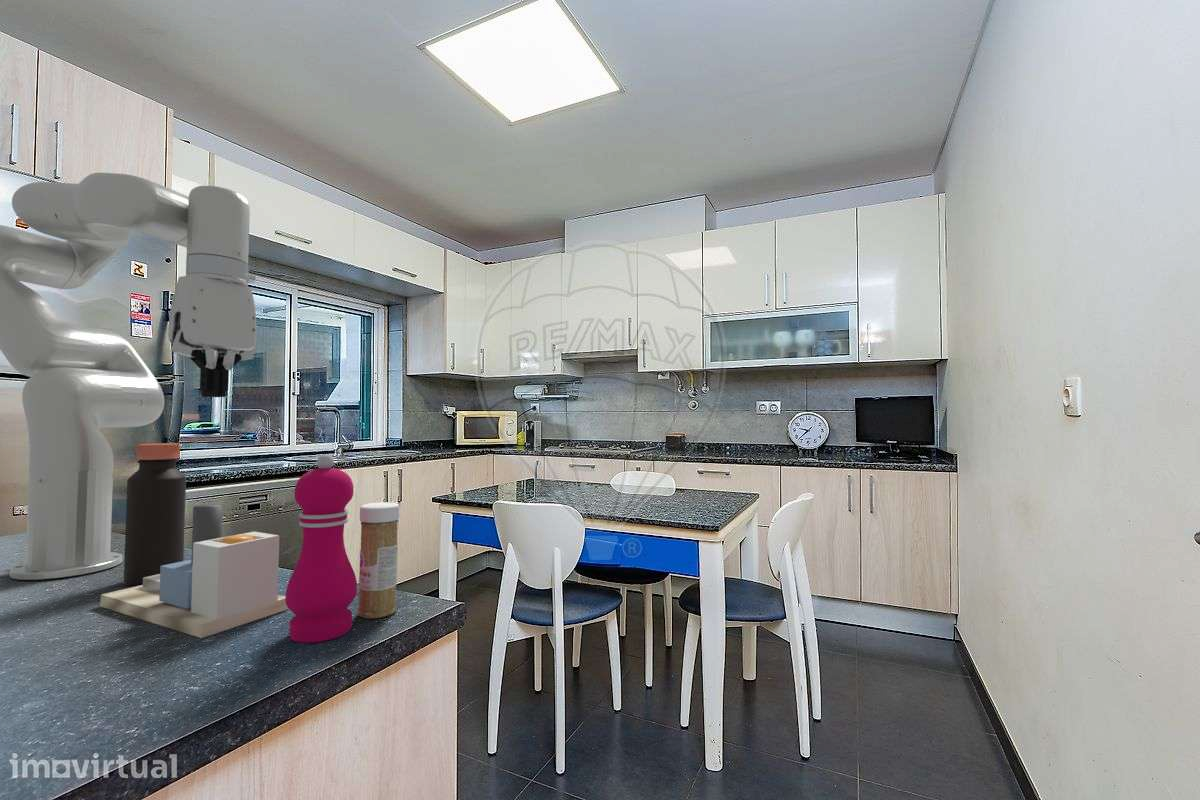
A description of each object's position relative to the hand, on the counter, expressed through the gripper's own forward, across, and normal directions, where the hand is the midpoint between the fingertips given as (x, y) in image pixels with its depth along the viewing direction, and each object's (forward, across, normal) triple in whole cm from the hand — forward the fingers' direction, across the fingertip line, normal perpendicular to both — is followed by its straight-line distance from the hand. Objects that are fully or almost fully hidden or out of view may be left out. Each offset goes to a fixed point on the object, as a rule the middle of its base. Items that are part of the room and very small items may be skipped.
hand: (213, 396), depth 80 cm
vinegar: (+27, +3, -8) cm, 29 cm away
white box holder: (+26, +7, +18) cm, 32 cm away
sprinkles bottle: (+27, -2, +32) cm, 42 cm away
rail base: (+27, +7, +10) cm, 30 cm away
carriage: (+25, +7, +12) cm, 29 cm away
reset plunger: (+21, +7, +19) cm, 29 cm away
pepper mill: (+27, +5, +31) cm, 42 cm away
